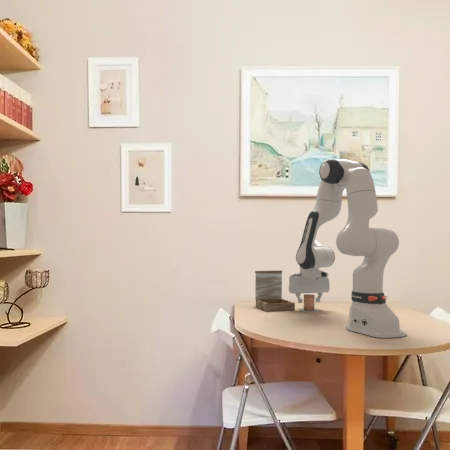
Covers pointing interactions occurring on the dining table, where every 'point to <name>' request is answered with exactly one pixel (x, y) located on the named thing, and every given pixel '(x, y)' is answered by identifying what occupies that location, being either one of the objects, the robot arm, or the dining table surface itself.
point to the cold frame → (271, 292)
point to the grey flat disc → (308, 311)
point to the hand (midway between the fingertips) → (309, 302)
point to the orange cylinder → (309, 302)
